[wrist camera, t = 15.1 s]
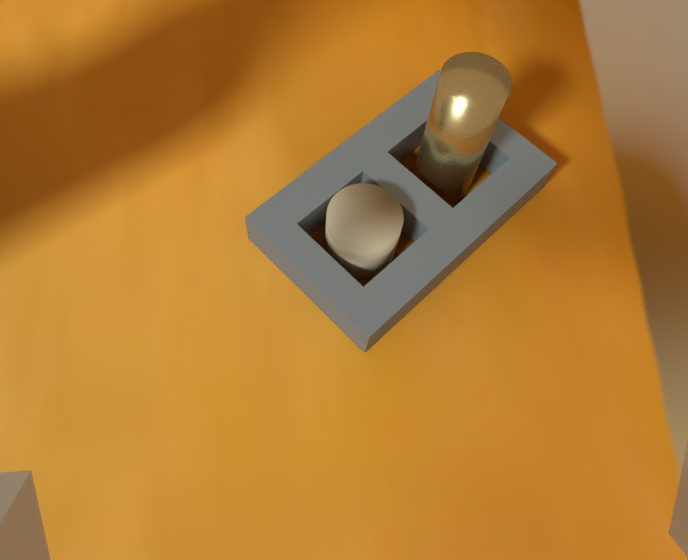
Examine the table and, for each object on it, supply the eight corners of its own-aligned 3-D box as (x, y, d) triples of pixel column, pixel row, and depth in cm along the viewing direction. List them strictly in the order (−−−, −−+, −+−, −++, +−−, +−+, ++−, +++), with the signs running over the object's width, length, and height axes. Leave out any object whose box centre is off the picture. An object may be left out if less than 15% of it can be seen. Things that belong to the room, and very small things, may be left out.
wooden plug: (309, 244, 47) (310, 213, 43) (359, 203, 48) (364, 170, 44) (359, 292, 45) (365, 264, 41) (409, 248, 47) (419, 218, 43)
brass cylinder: (400, 177, 50) (425, 76, 40) (439, 146, 51) (472, 41, 41) (443, 214, 48) (480, 119, 38) (481, 181, 50) (526, 81, 40)
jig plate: (248, 238, 46) (245, 217, 44) (431, 95, 53) (438, 70, 50) (364, 352, 43) (369, 337, 41) (543, 186, 50) (557, 163, 47)
